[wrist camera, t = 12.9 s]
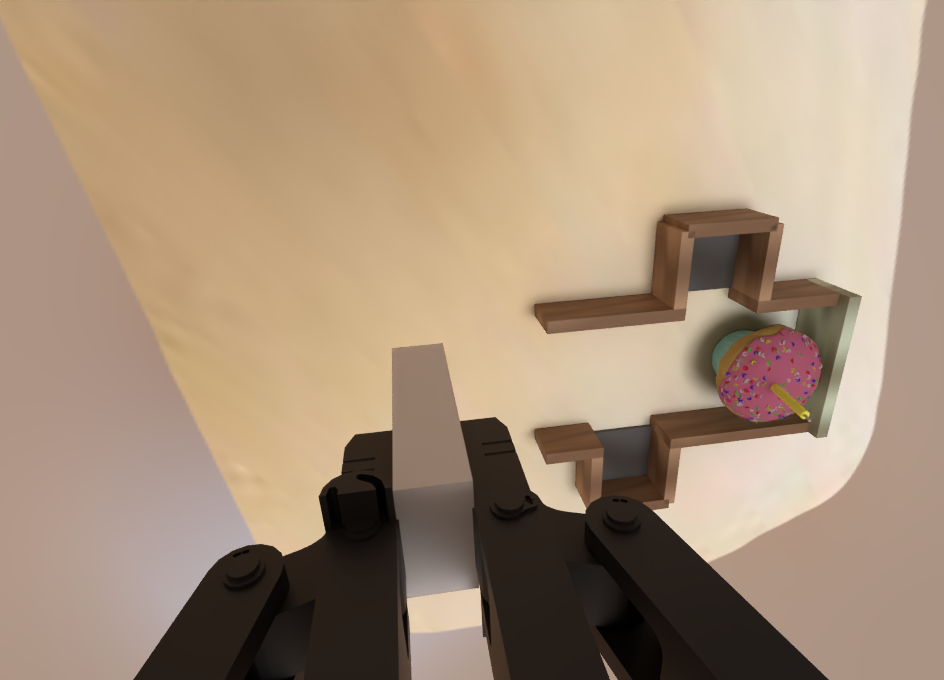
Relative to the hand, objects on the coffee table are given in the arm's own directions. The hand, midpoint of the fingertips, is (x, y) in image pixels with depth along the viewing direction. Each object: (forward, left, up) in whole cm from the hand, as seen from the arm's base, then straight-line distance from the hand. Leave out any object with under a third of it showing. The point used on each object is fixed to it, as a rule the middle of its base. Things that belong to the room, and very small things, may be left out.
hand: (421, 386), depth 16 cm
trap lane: (+14, +22, -26) cm, 37 cm away
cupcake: (+14, +29, -27) cm, 42 cm away
